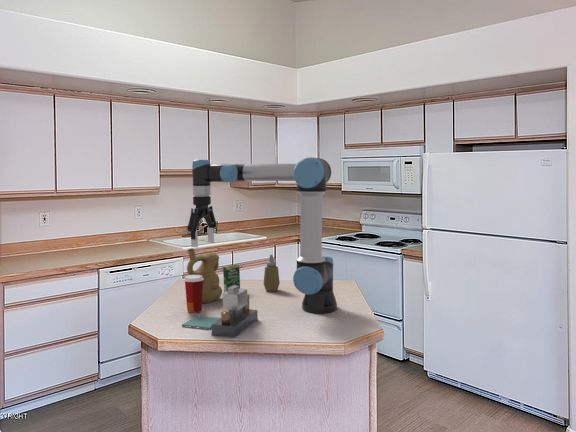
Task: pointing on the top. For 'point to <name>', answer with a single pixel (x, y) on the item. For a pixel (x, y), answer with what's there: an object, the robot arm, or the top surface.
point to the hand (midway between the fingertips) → (202, 244)
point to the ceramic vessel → (206, 274)
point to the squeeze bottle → (271, 276)
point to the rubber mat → (201, 322)
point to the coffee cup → (194, 292)
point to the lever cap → (234, 298)
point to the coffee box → (231, 276)
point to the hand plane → (234, 321)
